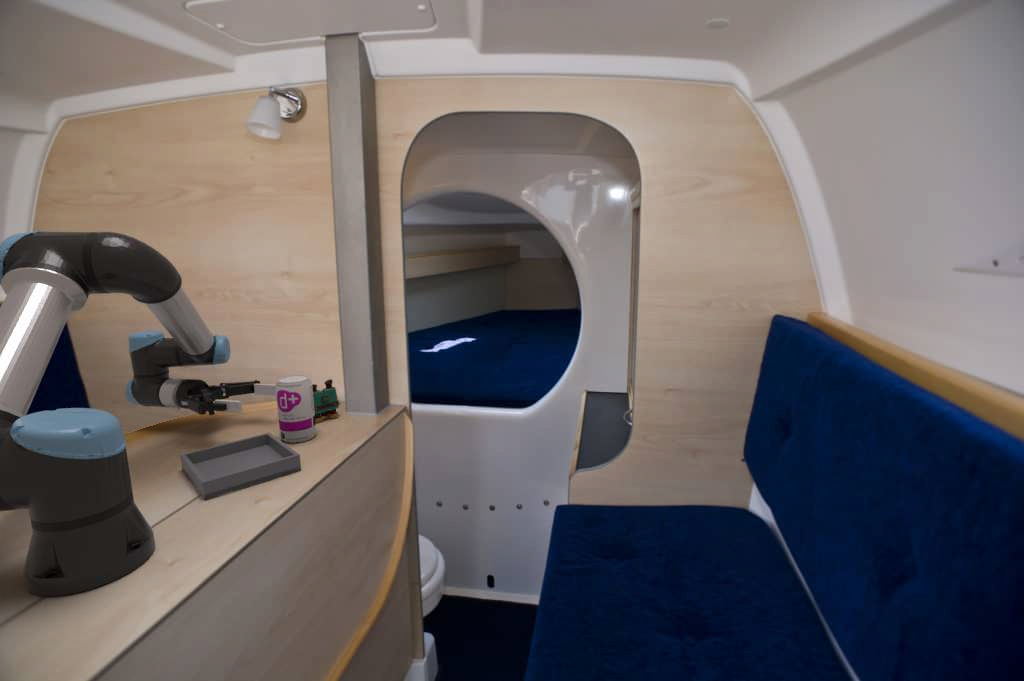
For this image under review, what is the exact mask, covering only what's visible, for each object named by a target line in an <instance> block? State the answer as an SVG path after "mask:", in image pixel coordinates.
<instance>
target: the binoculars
mask: <svg viewBox="0 0 1024 681" xmlns="http://www.w3.org/2000/svg"><path fill="white" fill-rule="evenodd" d="M333 382H334V381H333V379H332V378H331V379H327V380H325V381H324V385H325V388H322V390H319V389H317V387H318V385H317V384H314V383H312V386H313V398H314V409H315V421H316V424H319V423H323V416H326V415H327V418H329V419H337V418H338V417H339V412H338V411H337V409H338V408H339V407H340V402H339V399H338V393H337V389H336V386H333V385H332V384H333Z"/></svg>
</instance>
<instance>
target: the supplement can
mask: <svg viewBox="0 0 1024 681" xmlns="http://www.w3.org/2000/svg"><path fill="white" fill-rule="evenodd" d="M312 384H313V382H312V380H311V378H310V376H309V375H307V374H306V375H305V374H293V375H288V376H283V377H280V378H278V379H277V382H276V384H275V385H276V387H275V389H276V397H275V398H276V407H277V416H278V417H277V418H278V427H279V436H280V440H282V441H283V442H284V443H287V442H290V443H289V444H297V443H296V442H299V443H304V442H306V441H309V440H312V439H313V438H314V437H315V435H316V434H317V423H316V421H315V409H314V398H313V386H312Z"/></svg>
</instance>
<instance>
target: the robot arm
mask: <svg viewBox="0 0 1024 681" xmlns="http://www.w3.org/2000/svg"><path fill="white" fill-rule="evenodd" d="M0 286H1V288H2V290H3V292H4V293H5V295H6V296H5V298H4V300H3V302H2V303H1V305H0V512H7V511H14V510H25V509H26V510H27V511H28V514H29V518H30V523H31V530H32V533H31V536H30V537H31V538H30V542H29V545H28V550H27V554H26V559H25V563H24V566H23V577H24V584H25V586H26V587H25V588H26V590H28V592H30V593H31V594H33V595H36V596H43V597H60V596H67V595H73V594H77V593H81V592H86V591H88V590H92V589H96V588H98V587H100V586H103V585H106V584H109V583H111V582H113V581H115V580H117V579H120V578H122V577H124V576H125V575H127V574H129V573H131V572H132V571H134V570H136V569H137V568H138V567H140V566H141V565H143V564H144V563H145V562H146V561H147V560H148V559H149V558H150V557H151V556H152V554H153V553H154V551H155V549H156V542H155V541H156V540H155V534H154V530H153V529H152V527H151V526H150V524H149V522H148V521H147V520H146V518H145V517H144V515H143V513H142V512H141V510H140V509H139V507H138V505H136V503H135V498H134V494H133V493H134V492H133V486H132V478H131V473H130V466H129V460H128V452H127V440H126V437H125V436H124V432H123V428H122V424H121V422H120V420H119V418H118V417H116V416H115V414H112V413H111V412H108V411H106V410H103V409H98V408H88V407H70V408H68V407H65V408H56V410H41V411H36V412H32V413H29V414H27V413H28V411H29V409H30V407H31V404H32V402H33V400H34V397H35V396H36V393H37V390H38V389H39V386H40V383H41V381H42V378H43V376H44V374H45V372H46V369H47V368H48V365H49V363H50V360H51V358H52V355H53V353H54V351H55V348H56V346H57V344H58V342H59V339H60V338H61V335H62V332H63V330H64V327H65V325H66V323H67V321H68V319H69V316H70V314H74V313H77V312H79V311H81V310H82V309H83V308H84V307H85V305H86V303H87V300H88V298H89V296H90V295H97V294H98V295H99V294H100V295H102V294H125V295H126V294H127V295H130V297H132V298H133V299H134V300H136V301H137V302H139V303H141V304H145V306H146V307H147V308H148V309H149V311H150V312H151V313H153V315H154V316H155V318H156V319H157V320H158V321H159V323H160V324H161V325H162V326H163V328H164V329H165V330H166V331H167V333H168V334H169V335H170V337H167V338H166V337H165V334H164V332H163V331H162V330H142V331H135V332H133V333H130V335H129V336H128V353H129V359H130V362H131V369H132V374H133V377H132V378H130V379H129V380H128V381H127V382H126V384H125V386H126V387H125V389H124V396H125V399H126V400H127V401H128V402H129V403H130V404H133V405H137V406H142V407H150V408H151V407H155V408H160V407H161V408H174V409H176V410H180V409H187V410H190V411H193V412H195V414H196V413H197V414H199V415H201V416H203V415H206V414H207V412H208V416H214V415H216V414H215V412H218V413H219V412H220V413H221V412H222V413H234V414H241V413H243V409H242V408H243V407H242V401H241V400H230V399H229V398H230V397H235V396H243V395H250V394H255V395H262V396H276V389H275V387H276V385H277V384H273V383H272V384H270V383H269V384H268V383H261V382H260V380H257V379H255V380H254V381H253V380H250V381H239V382H220V383H219V384H218V385H215V384H213V385H209V384H208V383H207V382H206V381H204V380H203V379H195V378H194V379H193V378H179V377H170V370H169V368H180V367H181V368H182V367H198V366H200V367H201V366H215V365H222V364H227V363H228V362H229V361H230V357H231V344H230V340H229V339H228V337H227V336H225V335H218V334H215V335H213V333H212V332H211V331H210V329H209V328H208V326H207V325H206V323H205V322H204V320H203V318H202V317H201V315H200V313H199V312H198V311H197V309H196V308H195V306H194V304H193V303H192V301H191V300H190V298H189V297H188V295H187V294H186V292H185V291H184V289H183V287H182V286H183V279H182V276H181V275H180V273H179V271H178V270H177V268H176V266H175V265H174V264H173V263H172V261H171V260H169V259H168V258H167V257H166V256H165V255H163V254H162V253H161V252H160V251H158V250H156V248H153V247H152V246H150V245H148V244H147V243H145V242H143V241H141V240H139V239H137V238H136V237H133V236H129V235H127V234H124V233H119V232H114V231H96V232H95V231H94V232H93V231H45V230H44V231H40V230H36V231H35V230H34V231H30V232H19V233H15V234H12V235H10V236H8V237H6V238H5V239H4V240H2V242H1V243H0Z"/></svg>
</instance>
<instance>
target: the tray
mask: <svg viewBox="0 0 1024 681" xmlns="http://www.w3.org/2000/svg"><path fill="white" fill-rule="evenodd" d="M179 457H180V464H181V470H182V472H183V473H184V475H185V476H186V477H187V479H188V480H189V482H190V483H191V484H192V485H193V486H194V488H195V489H196V490H197V492H198V493H199V495H200V496H201V497H202V499H203V498H204V499H203V500H204V501H206V500H210V499H213V498H212V497H214V498H216V496H217V497H220V496H223V495H225V493H227V494H229V493H228V492H230V493H232V492H231V491H233V492H236V491H239V490H242V489H241V488H243V489H246V488H249V487H252V486H255V484H256V485H258V484H262V483H265V482H269V481H272V480H275V479H278V478H281V477H283V476H284V475H285V476H288V475H291V474H294V473H297V471H298V472H300V471H299V470H301V471H302V465H301V455H300V454H299V453H298V452H297V451H295V450H294V449H293V448H291V447H290V446H289V445H287V444H286V443H285V442H284V441H283V440H282V441H281V439H279V438H277V437H276V436H275V435H273V434H272V433H271V432H266V433H262V434H257V435H253V436H250V437H245V438H242V439H237V440H233V441H229V442H225V443H222V444H221V443H220V444H218V445H214V446H211V447H206V448H201V449H199V450H198V449H197V450H194V451H190V452H186V453H182V454H179ZM293 472H294V473H293ZM287 474H288V475H287ZM251 485H252V486H251ZM248 486H249V487H248ZM245 487H246V488H245ZM238 489H239V490H238ZM235 490H236V491H235ZM222 494H223V495H222ZM219 495H220V496H219Z"/></svg>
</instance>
